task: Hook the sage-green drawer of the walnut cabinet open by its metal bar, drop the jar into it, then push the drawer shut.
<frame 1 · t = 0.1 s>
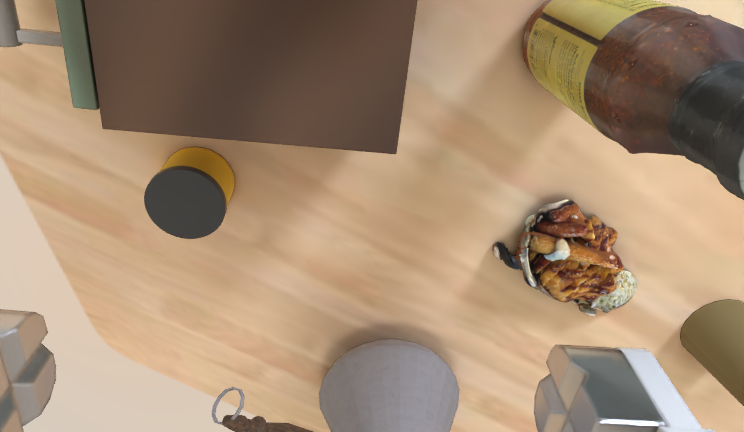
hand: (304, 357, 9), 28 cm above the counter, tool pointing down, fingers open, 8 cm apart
pastry: (574, 255, 42), on the counter
jar: (199, 179, 38), on the counter
coffee pot: (351, 337, 46), on the counter
sauce bottle: (569, 33, 34), on the counter
cork: (715, 326, 46), on the counter
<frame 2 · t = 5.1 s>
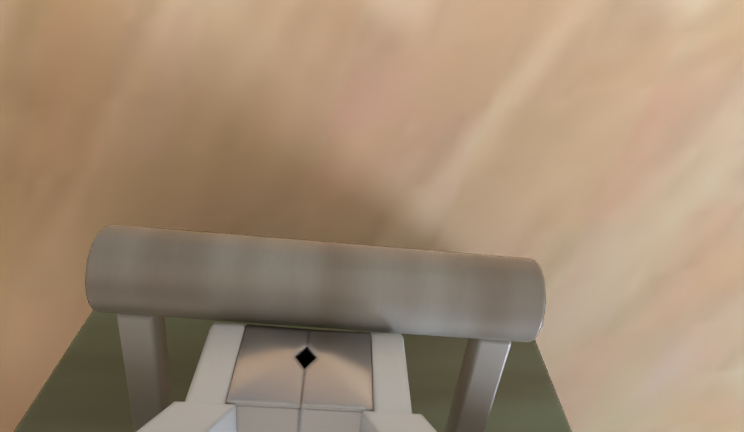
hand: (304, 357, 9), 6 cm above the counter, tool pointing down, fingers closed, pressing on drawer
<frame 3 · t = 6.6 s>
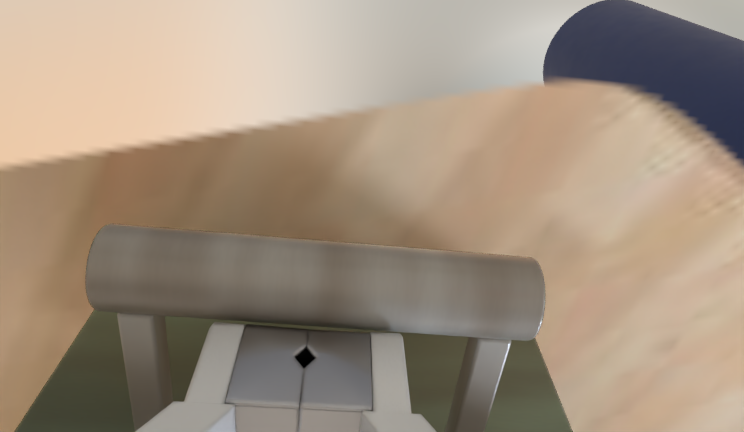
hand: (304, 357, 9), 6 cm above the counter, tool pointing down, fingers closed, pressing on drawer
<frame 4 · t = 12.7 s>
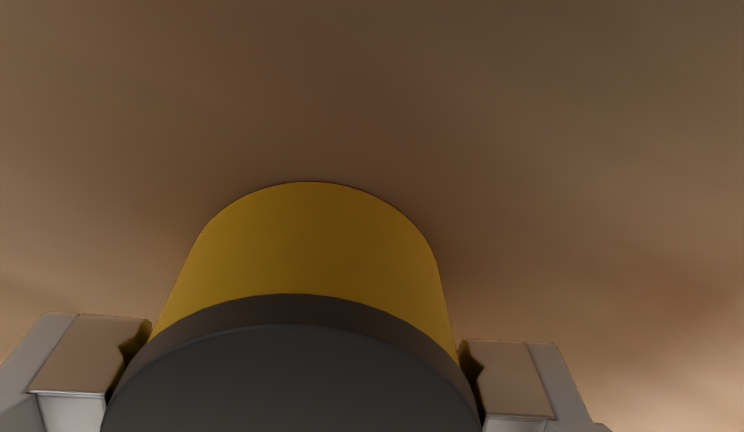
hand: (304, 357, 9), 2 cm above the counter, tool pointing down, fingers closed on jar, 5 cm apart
jar: (314, 293, 11), on the counter, touching gripper
when the fingers open (9 cm above the counter, at t = 18.5 s): jar drops 5 cm, resting on drawer.
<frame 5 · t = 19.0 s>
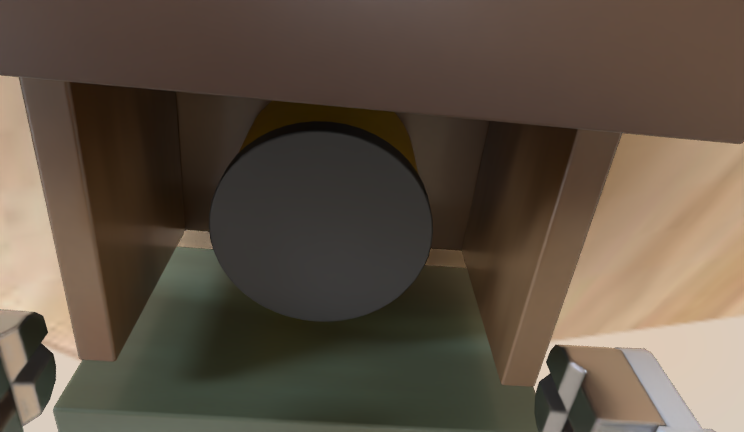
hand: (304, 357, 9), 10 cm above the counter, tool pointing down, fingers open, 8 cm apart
drawer: (325, 226, 14), point 4 cm above the counter, slide at 7.8 cm, touching jar
jar: (329, 165, 16), point 2 cm above the counter, touching drawer
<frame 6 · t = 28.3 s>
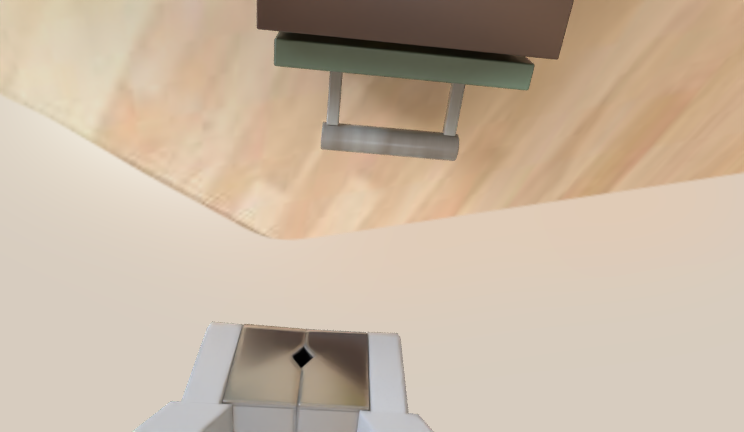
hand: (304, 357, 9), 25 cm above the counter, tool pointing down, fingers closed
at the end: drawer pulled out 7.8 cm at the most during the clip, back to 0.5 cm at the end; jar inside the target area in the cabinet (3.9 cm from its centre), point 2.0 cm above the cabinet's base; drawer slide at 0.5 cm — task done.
